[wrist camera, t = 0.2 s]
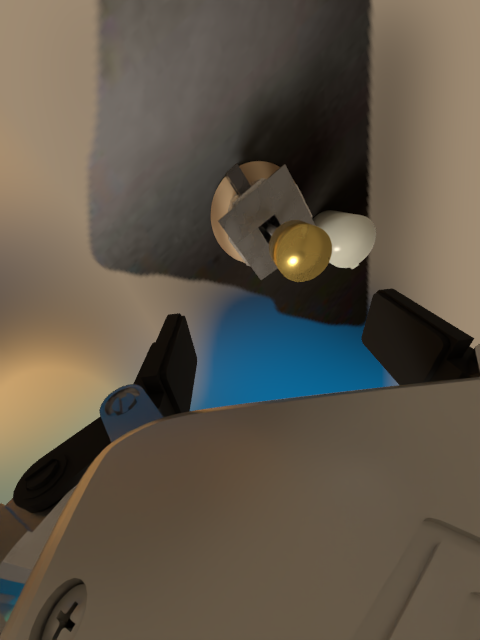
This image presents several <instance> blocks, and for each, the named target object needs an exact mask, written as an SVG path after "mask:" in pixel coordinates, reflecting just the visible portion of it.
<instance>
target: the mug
mask: <svg viewBox="0 0 480 640" xmlns="http://www.w3.org/2000/svg"><path fill="white" fill-rule="evenodd" d="M313 221H314V223H315V225H316V226H317V227H319V228H321V229H323V230H324V231H325V232H326V233H327V234H328V235H329V237H330V240H331V243H332V255H331V258H330V261H329V263H331V264H332V265H334V266H336V267H340V268H348V267H350V268H351V269H353V268H355V267H356V266H358V265H359V264H358V263H360V262H361V261H362V260H363V259H365V258H366V257H367V255H368V254H369V253H370V251H371V250H372V248H373V246H374V243H375V239H376V229H375V226H374V224H373V222H372V221H371V220H370V219H369V218H367V217H365V216H362V215H356V214H350V213H344V212H338V211H332V210H329V211H324V212H322V213H320V214H318V215H317V216H315V217H314V218H313Z"/></svg>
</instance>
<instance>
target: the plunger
mask: <svg viewBox="0 0 480 640" xmlns="http://www.w3.org/2000/svg"><path fill="white" fill-rule="evenodd" d="M258 229H259V230H260V232H261V233H262V235H263V236H264V238H265V239H266V241H267V242H268V241H270V242H269V253H270V257H271V259H272V260H273V262H274V263H275V265H276V266H277V267H278V269H279V270H280V272H281V273H282V274H283V275H284V276H285V277H286V278H288V279H289V280H292V281H296V282H304V281H308V280H311V279H313V278H315V277H316V276H318V275H319V274H320V273H321V272H322V271H323V270H324V269H325V268H326V266H327V265H328V263H329V261H330V258H331V255H332V243H331V240H330V237H329V235H328V234H327V233H326V232H325V231H324V230H323V229H321V228H319V227H317V226H314V225H312V224H309V223H306V222H303V221H300V220H291V221H287V222H285V223H283V224H282V225H279V223H278V221H277V220H276V218H275V216H274V215H273V216H272V217H271V218H269V219H268V220H267V221H266V222H264V223H263V224H262V225H261V226H259V227H258Z"/></svg>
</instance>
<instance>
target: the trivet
mask: <svg viewBox="0 0 480 640" xmlns="http://www.w3.org/2000/svg"><path fill="white" fill-rule="evenodd" d="M239 167H240V169H241V170H242V172H243V174H244V175H245V177H246V179H247V180H248V182H249V183H250V182H253V181H255V180H258V179H261V178H264V179H267V178H269V177H270V176H271V175H272V174H273V173H274V172H276V171H277V170H278V169H279V168H280V167H279V166H277V165H275V164H272V163H269V162H263V161H253V162H249V163H245V164H243V165H240V166H239ZM293 181H294V180H293ZM294 183H295V182H294ZM295 184H296V183H295ZM235 194H236V192H235V191H234V189H233V187H232V186H231V184H230V183H229V181H228V180H227V178H226V177H225V178H224V179H223V180H222V182H221V183H220V184H219V186H218V188H217V190H216V192H215V195H214V197H213V201H212V207H211V223H212V228H213V232H214V235H215V237H216V239H217V241H218V243H219V244H220V246H221V247H222V248H223V250H224V251H225V252H226V253H228V254H229V255H230V256H231V257H233V258H234V259H237V260H239V261H241V262H244V260H243V259H242V258H241V256H240V255H239V254H238V252H237V251H236V249H235V248H234V247H233V245H232V244H231V243H230V241H229V239H228V234H227V233H226V232H225V230H224V229H223V228H222V226H221V225H220V223H219V222H218V220H219V219H221V218H222V217H223V216H224V215H225V214H226V213H228V208H229V205H230V200H231V199H232V198H233V197H234V195H235ZM244 263H245V262H244Z"/></svg>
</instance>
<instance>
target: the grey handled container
mask: <svg viewBox="0 0 480 640" xmlns="http://www.w3.org/2000/svg"><path fill="white" fill-rule="evenodd" d="M226 178H227V180H228V181H229V183H230V184H231V186H232V187H233V189H234V191H235V192H236V194H235V195H234V197H233V198H232V199H231V200H230V205H229V208H228V213H226V214H225V215H224V216H223V217H222V218H221V219H219V220H218V222H219V223H220V225H221V226H222V228H223V229H224V230H225V232H226V233H227V234H228V239H229V241H230V243H231V244H232V245H233V247H234V248H235V249H236V251H237V252H238V254H239V255H240V256H241V258H242V259H243V260H244V262H245V263H246V264H247V265H248V266H251V267H252V269H253V270H254V271H255V273H256V274H257V275H258V277H259V278H260V280H262V279H263V278H265V277H266V276H268V275H269V274H270V273H272V272H273V271H275V270H276V269H277V268H278V267H277V266H276V265H275V263H274V262H273V260H272V259H271V257H270V253H269V242H270V241H268V242H267V241H266V239H265V238H264V236H263V235H262V233H261V232H260V230H259V229H258V227H259V226H261V225H262V224H263V223H264V222H266V221H267V220H268V219H269V218H271V217H272V216H273V215H274V216H275V218H276V220H277V221H278V223H279V225H282V224H283V223H285V222H287V221H291V220H300V221H303V222H306V223H309V224H312V225H314V226H316V225H315V223H314V221H313V219H312V214H311V212H310V210H309V208H308V206H307V204H306V202H305V200H304V198H303V196H302V194H301V192H300V190H299V188H298V186H297V185H296V184H295V183H294V181H293V179H292V177H291V175H290V173H289V171H288V169H287V167H286V165H285V164H284V165H283V166H281V167H280V168H279V169H278V170H277V171H276V172H274V173H273V174H272V175H271V176H270V177H269V178H267V179H264V178H261V179H258V180H255V181H253V182H250V183H249V182H248V180H247V179H246V177H245V175H244V174H243V172H242V170H241V169H240V167H239V165H238V164H236V165H234V166H233V167H232V168H231V169H230V170H229V171H228V172H227V173H226Z"/></svg>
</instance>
